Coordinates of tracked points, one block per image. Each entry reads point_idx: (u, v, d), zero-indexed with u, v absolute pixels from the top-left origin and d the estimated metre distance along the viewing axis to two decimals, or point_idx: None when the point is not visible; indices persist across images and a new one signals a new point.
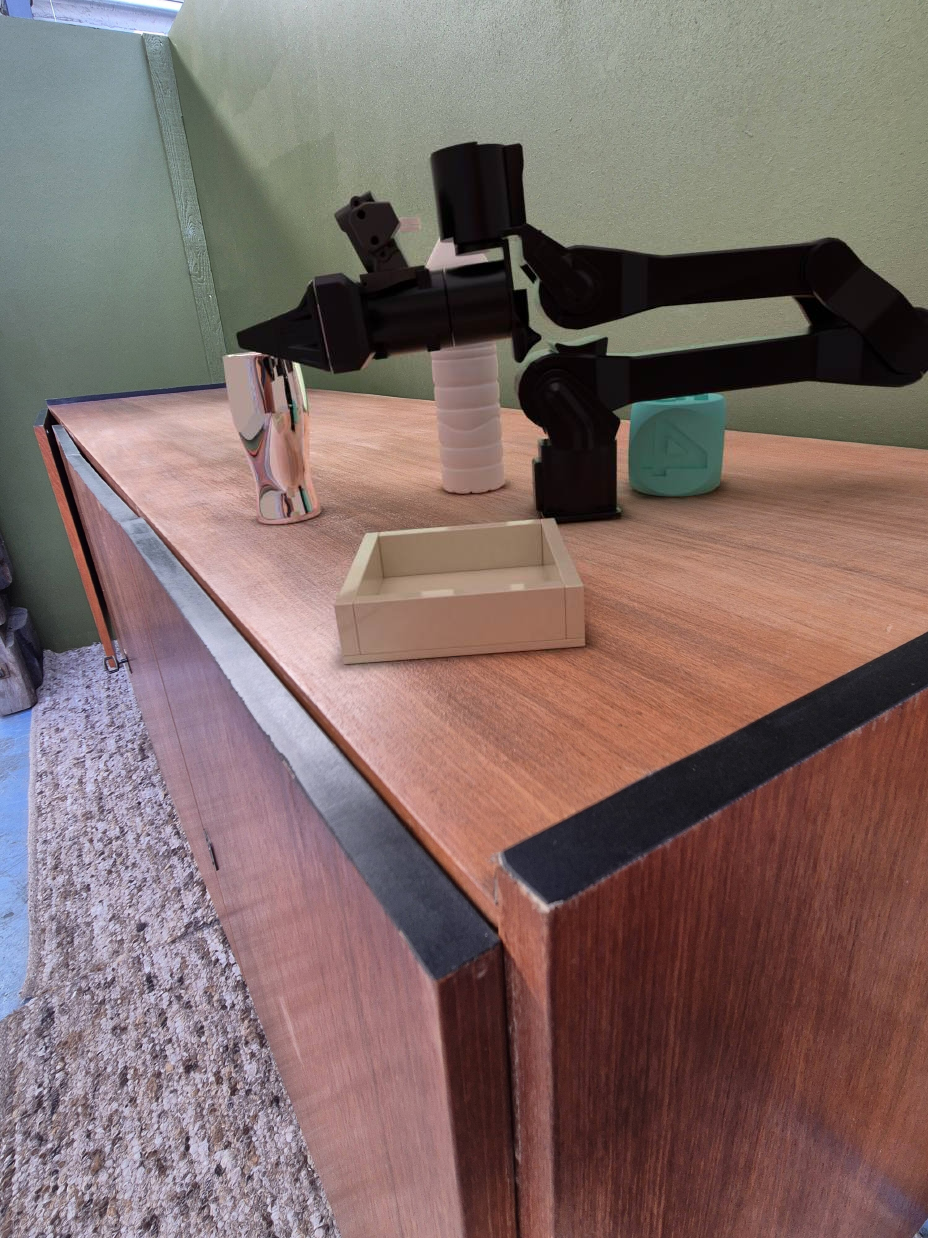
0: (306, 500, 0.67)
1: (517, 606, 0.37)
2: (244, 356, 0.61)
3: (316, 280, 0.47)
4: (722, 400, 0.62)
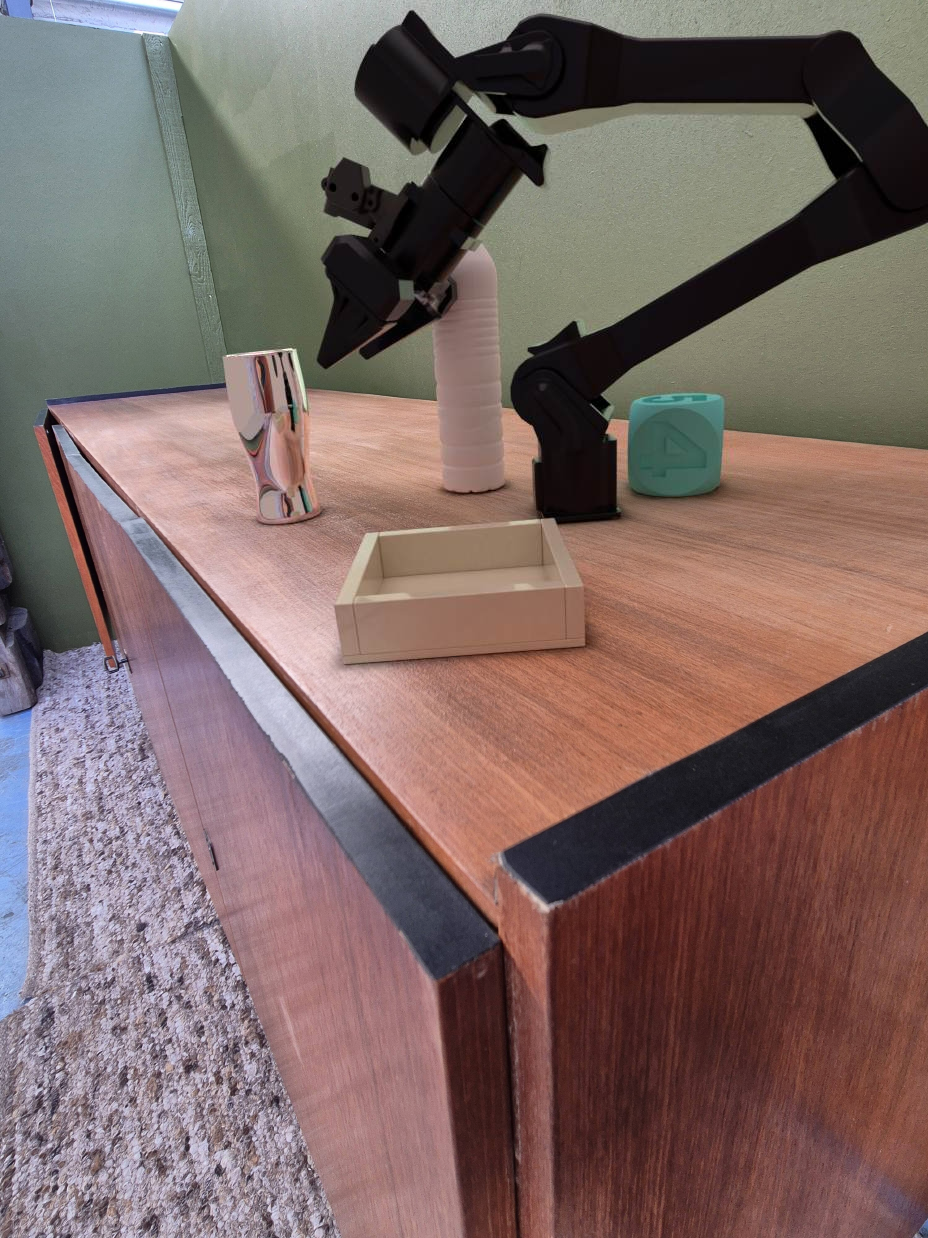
0: (306, 500, 0.67)
1: (517, 606, 0.37)
2: (244, 356, 0.61)
3: (322, 259, 0.50)
4: (720, 400, 0.62)
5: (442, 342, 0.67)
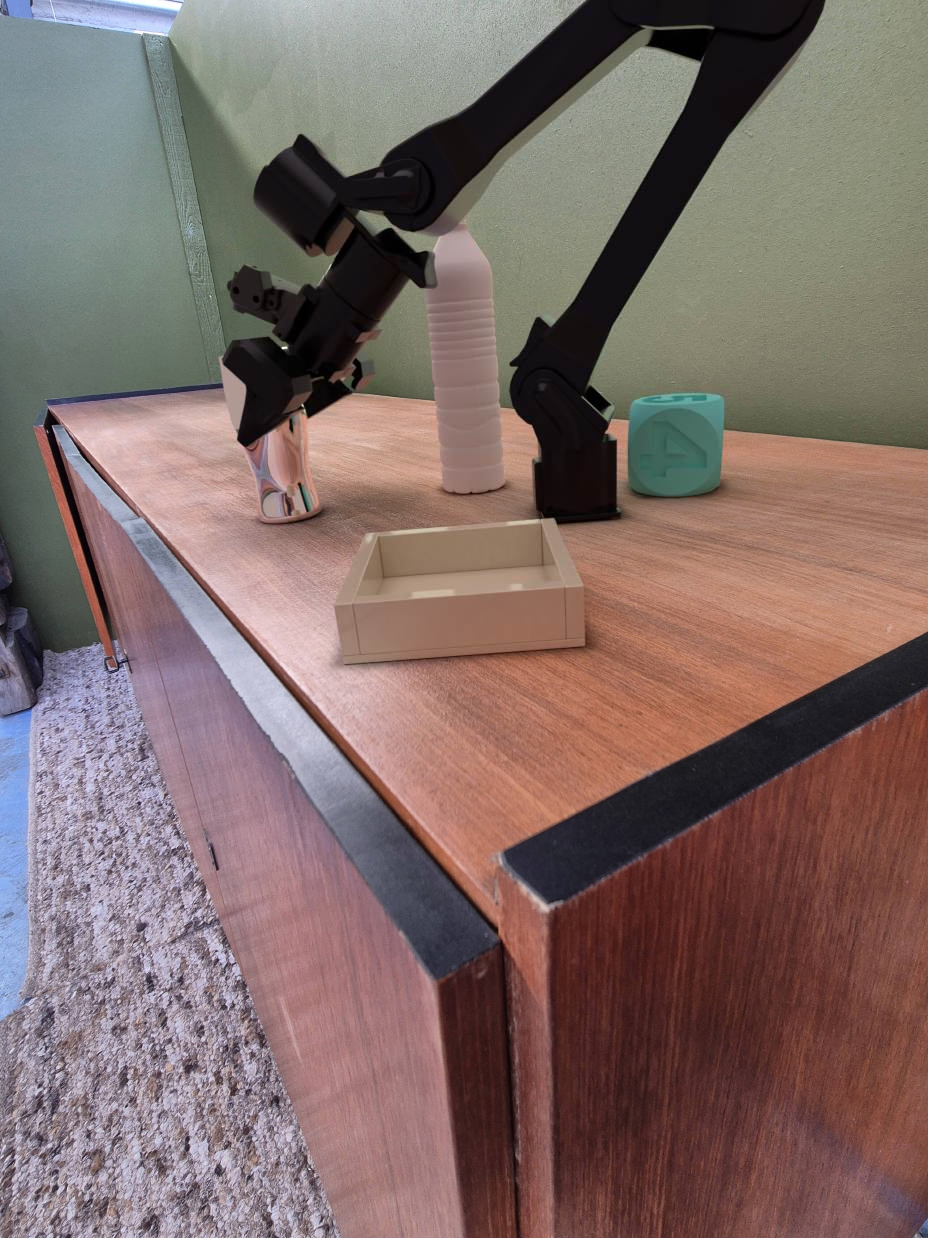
0: (306, 498, 0.67)
1: (517, 606, 0.37)
2: None
3: (222, 360, 0.55)
4: (720, 400, 0.62)
5: (439, 343, 0.67)
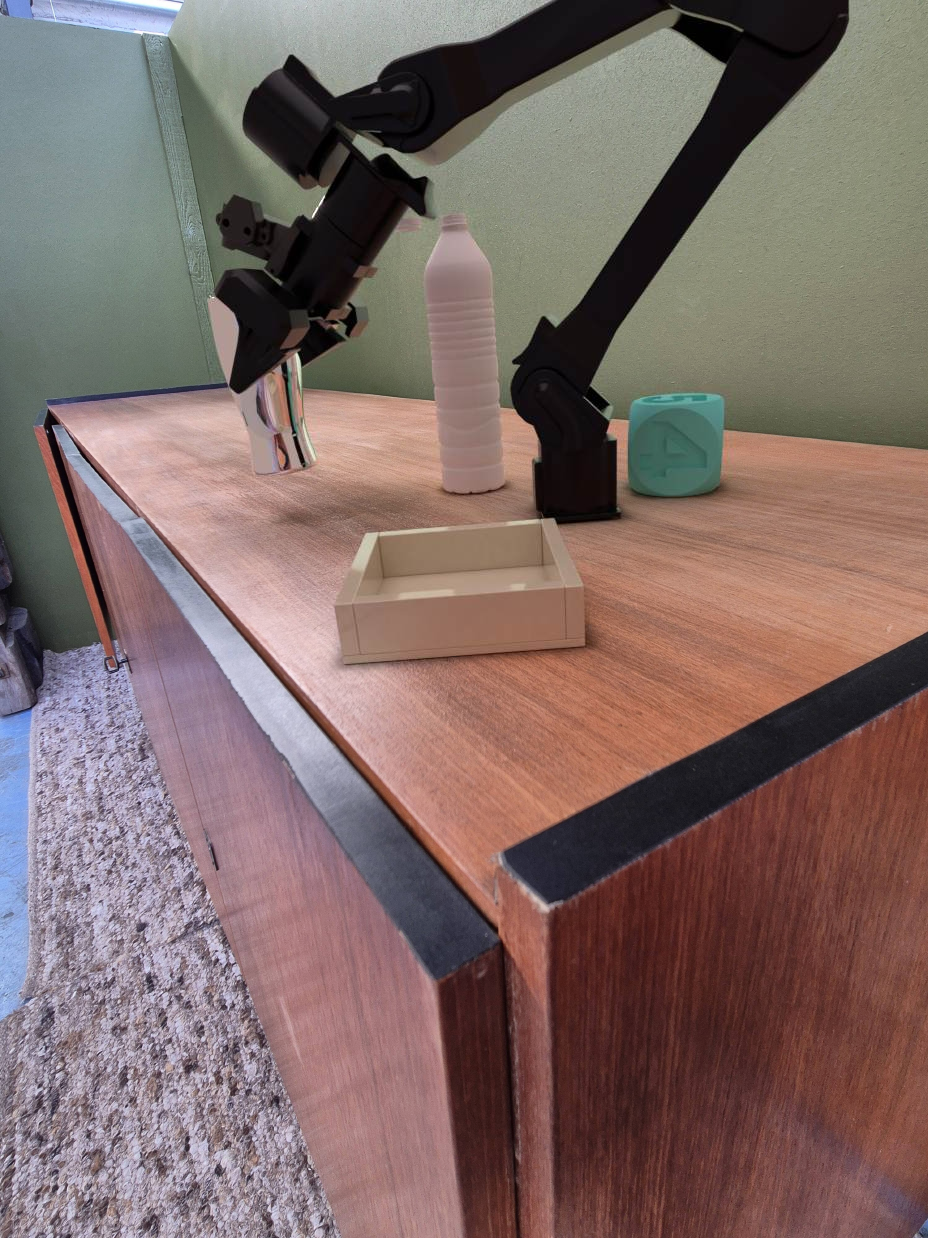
0: (303, 449, 0.64)
1: (517, 606, 0.37)
2: None
3: (215, 292, 0.52)
4: (720, 400, 0.62)
5: (439, 343, 0.67)
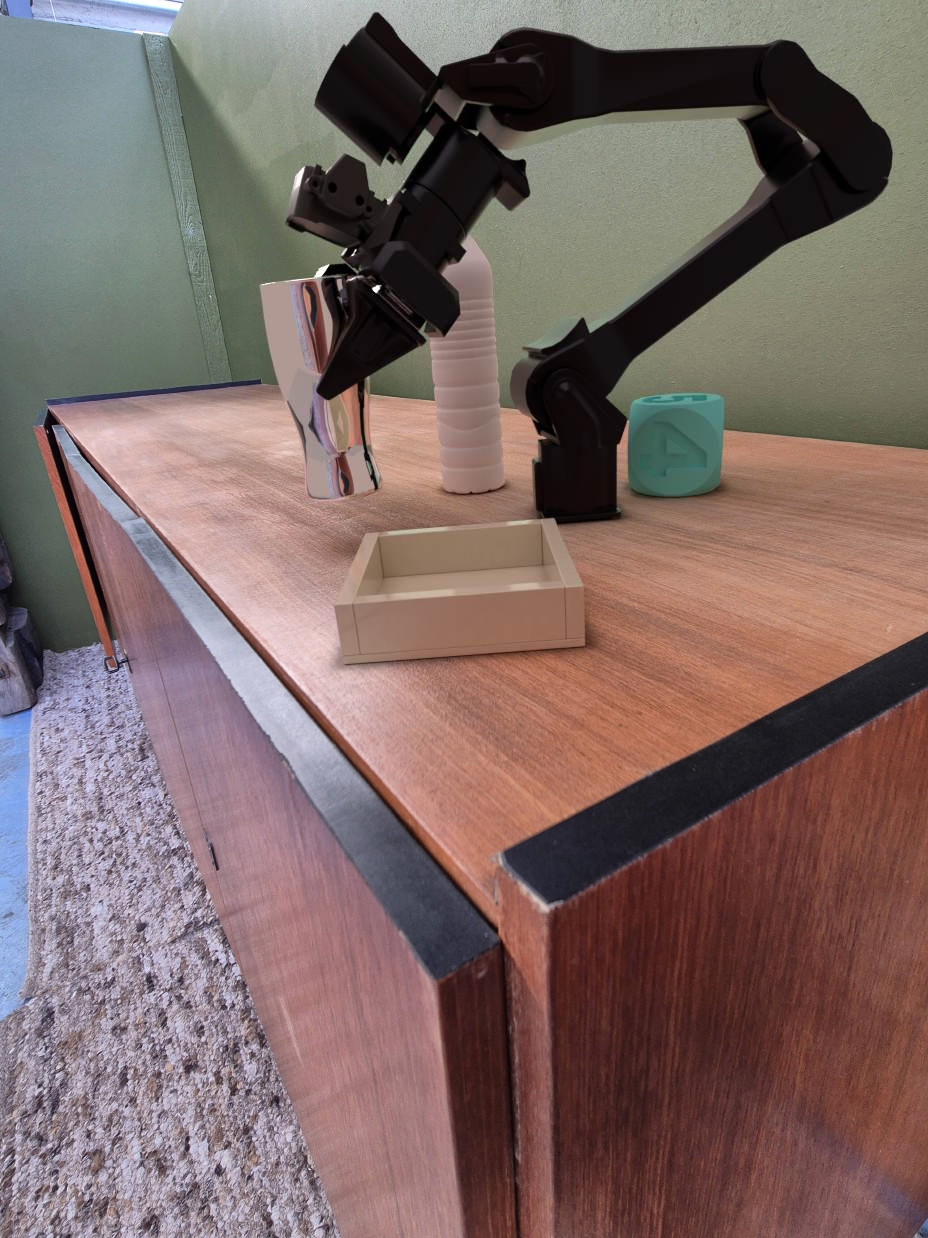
0: (377, 464, 0.55)
1: (517, 606, 0.37)
2: (323, 278, 0.47)
3: (375, 268, 0.42)
4: (720, 400, 0.62)
5: (439, 343, 0.67)
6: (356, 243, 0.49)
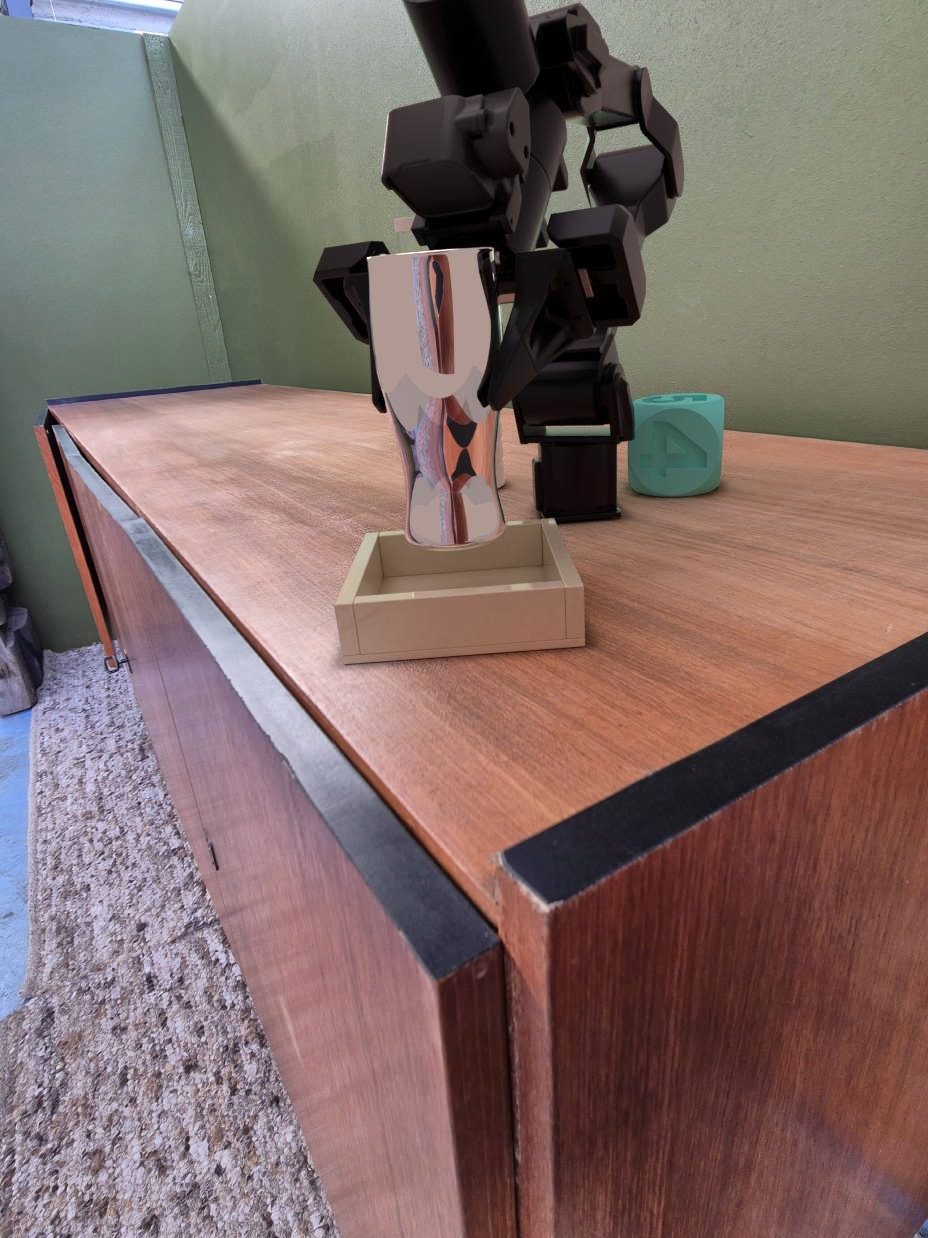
0: None
1: (517, 606, 0.37)
2: (491, 249, 0.35)
3: (615, 235, 0.34)
4: (720, 400, 0.62)
5: None
6: (471, 211, 0.38)
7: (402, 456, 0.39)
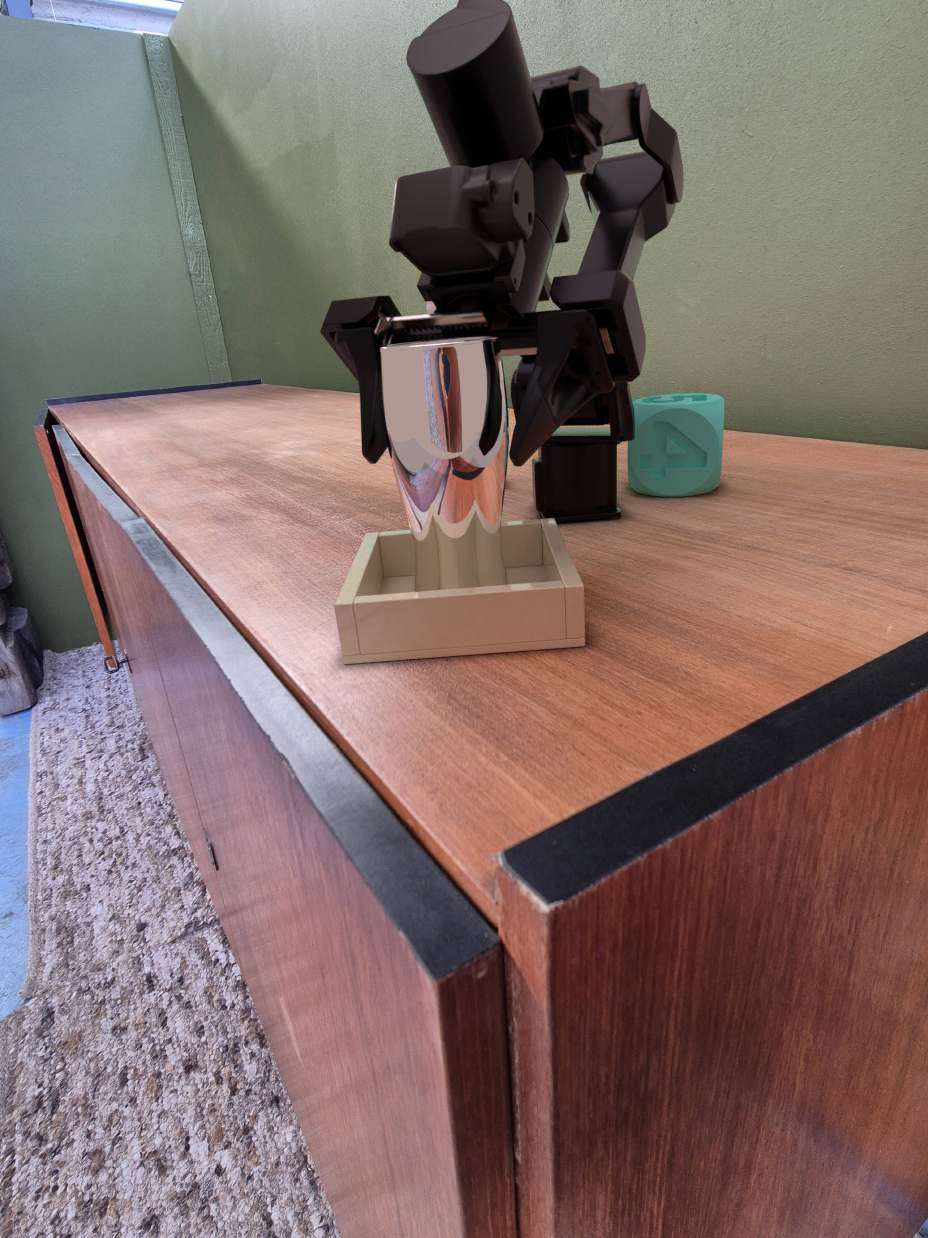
0: None
1: (517, 606, 0.37)
2: (497, 339, 0.37)
3: (616, 300, 0.35)
4: (720, 400, 0.62)
5: None
6: (475, 270, 0.39)
7: (412, 528, 0.41)
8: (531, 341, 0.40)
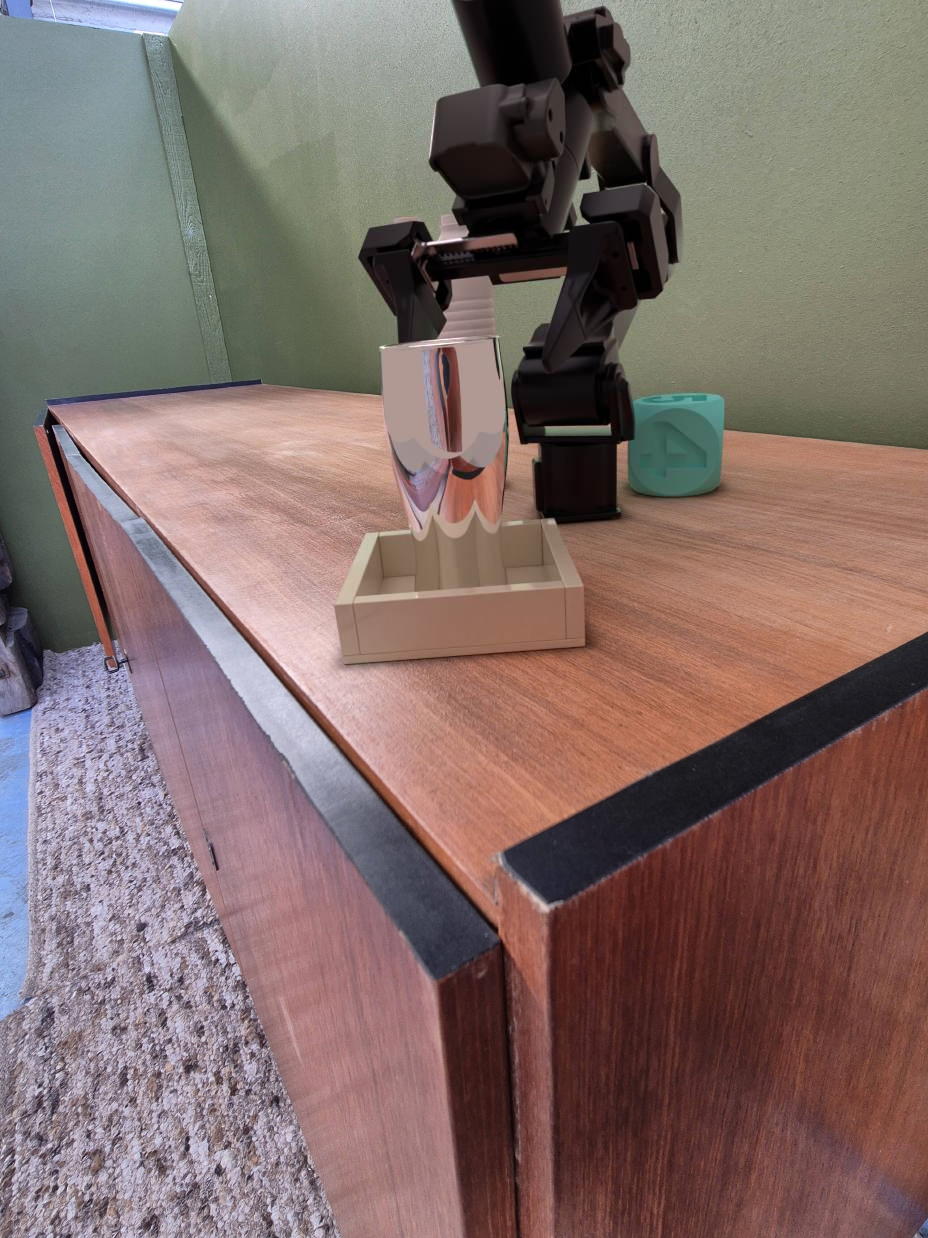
0: None
1: (517, 606, 0.37)
2: (497, 339, 0.37)
3: (643, 211, 0.37)
4: (720, 400, 0.62)
5: None
6: (508, 192, 0.41)
7: (412, 528, 0.41)
8: (560, 260, 0.42)
